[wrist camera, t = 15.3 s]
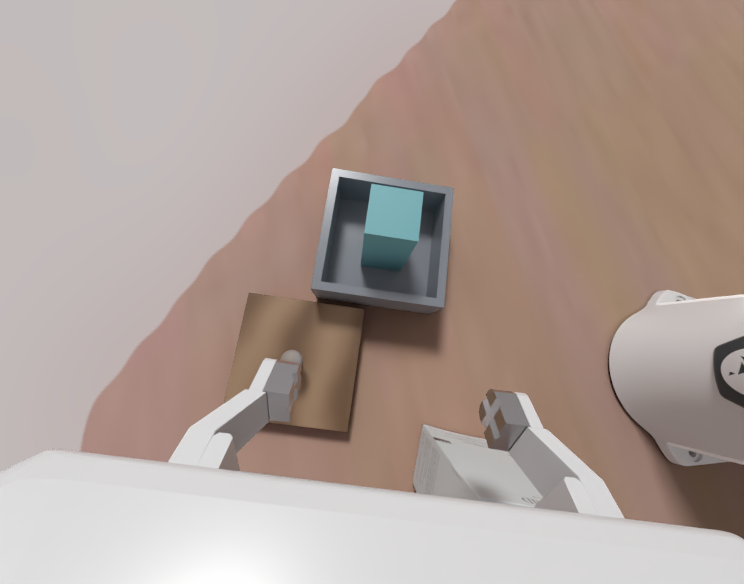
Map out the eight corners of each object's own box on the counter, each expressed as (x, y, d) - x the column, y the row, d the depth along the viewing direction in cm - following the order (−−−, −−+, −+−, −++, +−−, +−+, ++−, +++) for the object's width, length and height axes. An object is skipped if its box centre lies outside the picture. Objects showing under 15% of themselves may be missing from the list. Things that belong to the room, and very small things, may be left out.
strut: (404, 234, 33) (423, 192, 24) (399, 271, 32) (418, 241, 23) (365, 228, 33) (371, 183, 24) (360, 265, 32) (364, 232, 23)
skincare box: (495, 439, 30) (633, 524, 15) (488, 504, 29) (630, 662, 14) (417, 422, 30) (481, 491, 15) (406, 486, 28) (464, 629, 14)
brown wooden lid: (363, 311, 32) (366, 304, 27) (347, 427, 29) (346, 443, 24) (253, 295, 31) (236, 285, 26) (227, 413, 28) (202, 425, 24)
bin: (439, 211, 35) (453, 188, 30) (429, 314, 32) (444, 307, 27) (335, 194, 34) (332, 168, 29) (316, 298, 31) (310, 288, 27)
